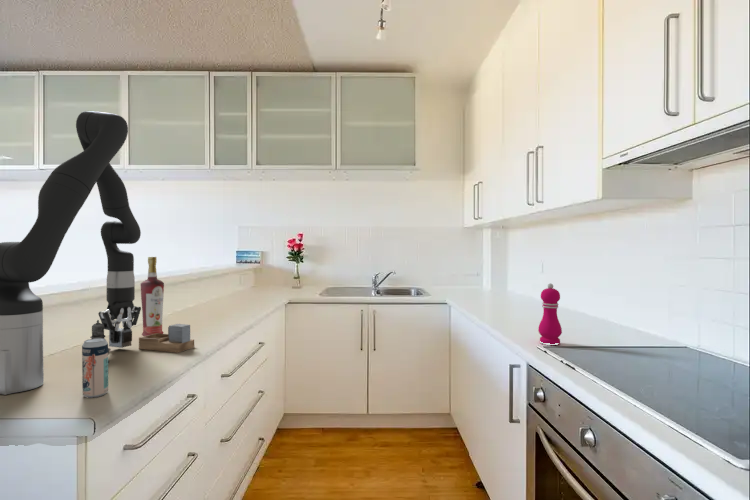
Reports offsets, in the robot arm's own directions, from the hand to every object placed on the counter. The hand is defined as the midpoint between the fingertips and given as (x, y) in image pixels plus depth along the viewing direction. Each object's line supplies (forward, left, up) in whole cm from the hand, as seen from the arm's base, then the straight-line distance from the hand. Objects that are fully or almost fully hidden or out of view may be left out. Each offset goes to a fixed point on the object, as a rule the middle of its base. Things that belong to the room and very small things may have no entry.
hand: (120, 341), depth 137 cm
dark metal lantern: (-14, -7, -3) cm, 16 cm away
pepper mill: (+52, -126, -3) cm, 137 cm away
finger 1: (0, 0, -1) cm, 1 cm away
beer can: (-33, -29, -3) cm, 44 cm away
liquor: (+17, +5, -3) cm, 18 cm away
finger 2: (+6, -17, 0) cm, 18 cm away
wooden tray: (+6, -12, -3) cm, 14 cm away
